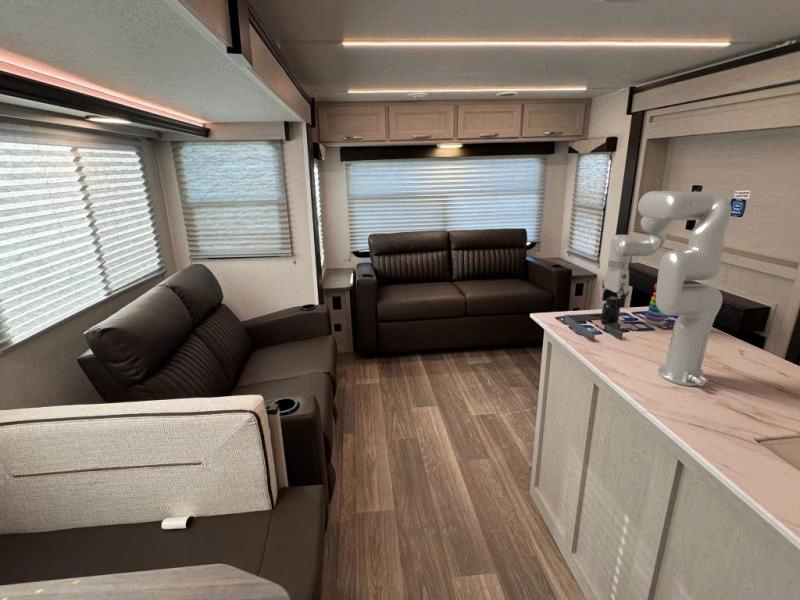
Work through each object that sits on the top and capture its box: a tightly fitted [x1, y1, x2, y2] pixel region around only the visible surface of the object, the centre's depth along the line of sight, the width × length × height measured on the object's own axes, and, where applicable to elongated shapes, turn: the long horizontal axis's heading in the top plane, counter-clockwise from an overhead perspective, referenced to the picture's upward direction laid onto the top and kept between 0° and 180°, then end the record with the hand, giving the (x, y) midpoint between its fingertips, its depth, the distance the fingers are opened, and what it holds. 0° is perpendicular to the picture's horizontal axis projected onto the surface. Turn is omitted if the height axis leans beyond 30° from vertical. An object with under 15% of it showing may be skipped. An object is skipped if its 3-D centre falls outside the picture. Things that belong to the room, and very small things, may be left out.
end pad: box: [591, 319, 632, 330], centre depth 177 cm, size 10×12×1 cm
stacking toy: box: [643, 282, 666, 326], centre depth 176 cm, size 8×8×19 cm
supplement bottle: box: [601, 295, 621, 325], centre depth 175 cm, size 7×7×12 cm
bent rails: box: [562, 312, 624, 342], centre depth 172 cm, size 22×18×3 cm
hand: (612, 303), depth 174 cm, fingers open, 9 cm apart
